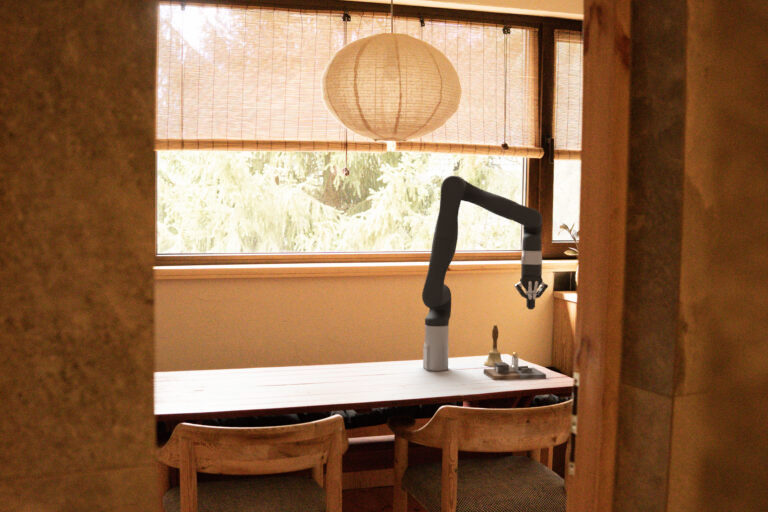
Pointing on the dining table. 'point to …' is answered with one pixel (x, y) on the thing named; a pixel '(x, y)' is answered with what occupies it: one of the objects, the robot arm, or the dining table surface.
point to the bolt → (514, 364)
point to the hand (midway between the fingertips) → (530, 309)
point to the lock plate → (513, 373)
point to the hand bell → (494, 350)
